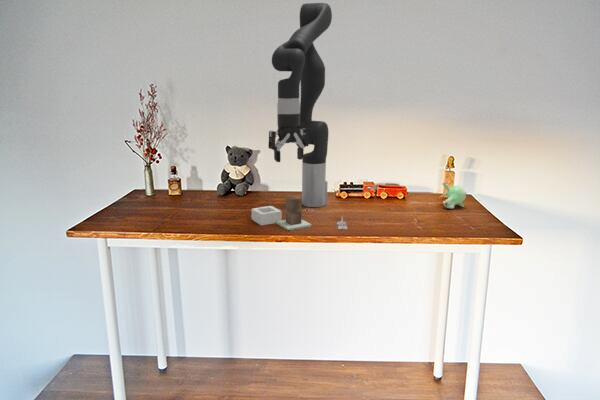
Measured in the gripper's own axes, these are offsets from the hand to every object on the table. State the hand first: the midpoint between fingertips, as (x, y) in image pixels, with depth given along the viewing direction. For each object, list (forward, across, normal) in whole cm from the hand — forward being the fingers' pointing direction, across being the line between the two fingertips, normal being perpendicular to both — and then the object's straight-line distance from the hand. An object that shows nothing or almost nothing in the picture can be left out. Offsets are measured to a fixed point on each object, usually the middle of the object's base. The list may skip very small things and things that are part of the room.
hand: (289, 160), depth 161 cm
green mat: (+22, 0, +2) cm, 23 cm away
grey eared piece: (+23, -16, +9) cm, 30 cm away
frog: (+23, -66, +14) cm, 71 cm away
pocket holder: (+22, +6, -7) cm, 24 cm away
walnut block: (+22, 0, +2) cm, 22 cm away
